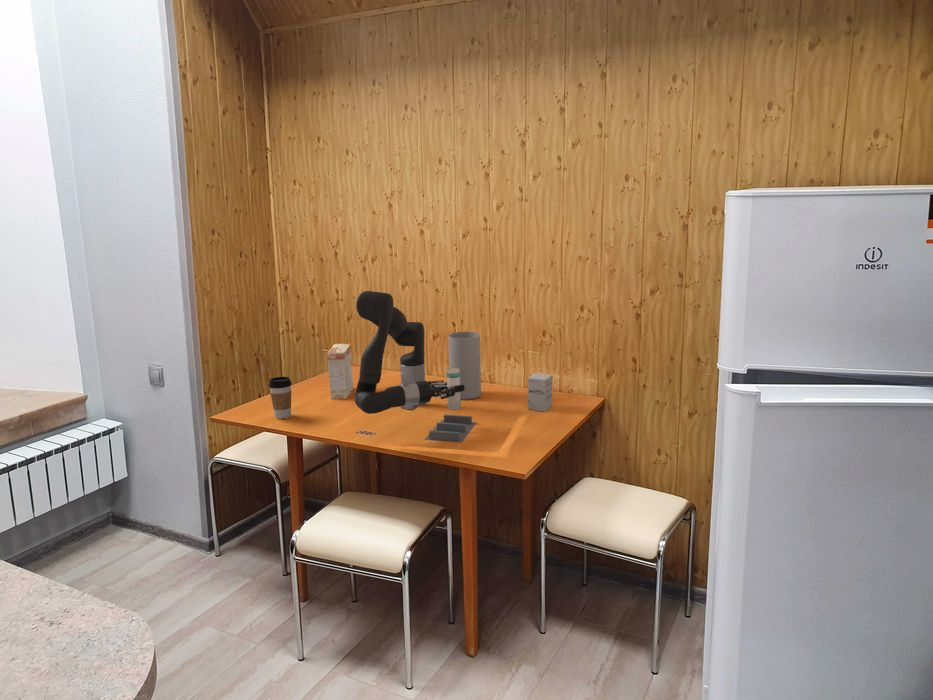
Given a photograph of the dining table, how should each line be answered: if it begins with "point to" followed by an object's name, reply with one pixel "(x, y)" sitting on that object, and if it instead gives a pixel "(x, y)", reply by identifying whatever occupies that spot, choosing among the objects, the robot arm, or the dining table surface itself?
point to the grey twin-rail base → (452, 429)
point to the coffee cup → (281, 396)
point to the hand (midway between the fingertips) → (460, 385)
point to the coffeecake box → (340, 371)
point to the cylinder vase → (466, 361)
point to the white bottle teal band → (454, 380)
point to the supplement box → (540, 392)
